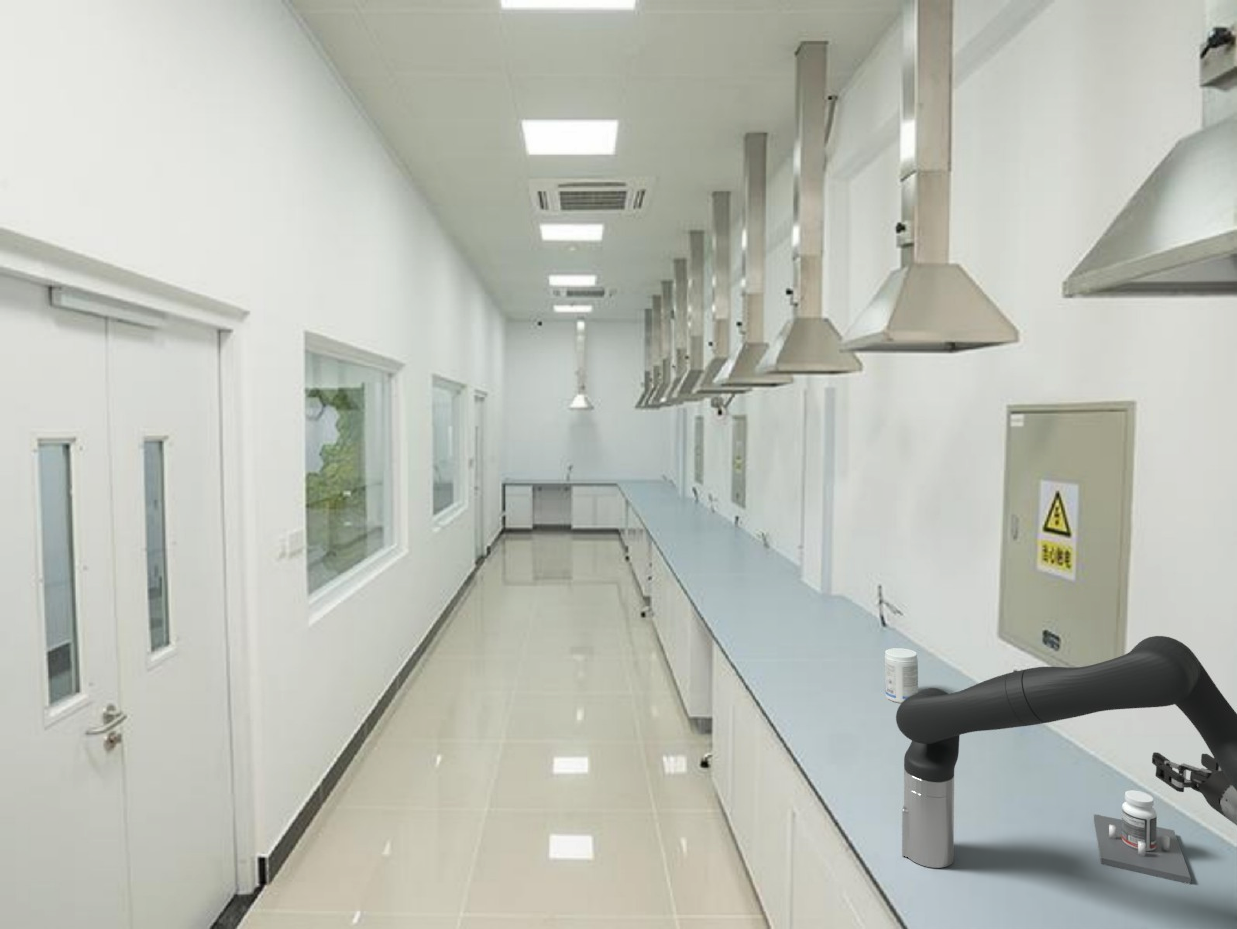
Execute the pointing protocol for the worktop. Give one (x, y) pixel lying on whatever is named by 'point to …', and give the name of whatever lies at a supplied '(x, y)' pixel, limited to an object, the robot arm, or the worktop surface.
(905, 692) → the supplement tub
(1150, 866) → the grey pegged board
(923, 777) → the robot arm
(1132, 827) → the pill bottle
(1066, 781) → the worktop surface
